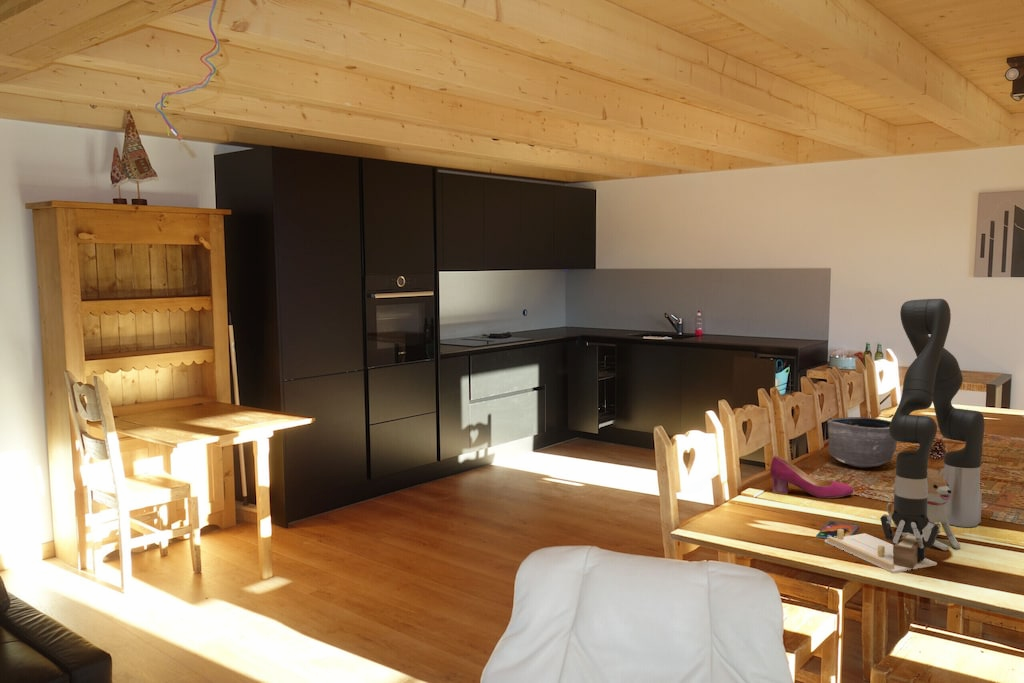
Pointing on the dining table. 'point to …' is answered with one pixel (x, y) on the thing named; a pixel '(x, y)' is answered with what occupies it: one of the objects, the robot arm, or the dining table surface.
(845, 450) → the tea bowl
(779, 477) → the high heel
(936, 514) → the toy
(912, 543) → the brown rectangular block
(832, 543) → the wall board
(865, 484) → the dining table surface
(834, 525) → the smartphone
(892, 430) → the robot arm
